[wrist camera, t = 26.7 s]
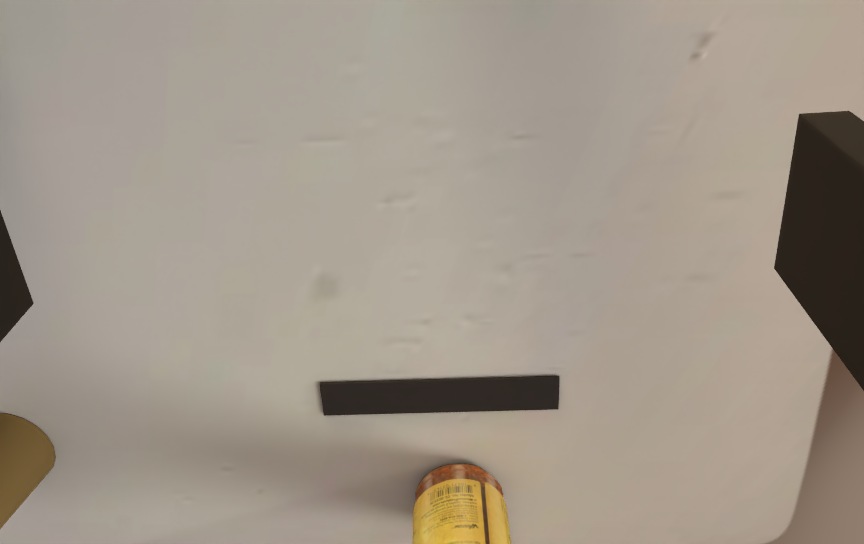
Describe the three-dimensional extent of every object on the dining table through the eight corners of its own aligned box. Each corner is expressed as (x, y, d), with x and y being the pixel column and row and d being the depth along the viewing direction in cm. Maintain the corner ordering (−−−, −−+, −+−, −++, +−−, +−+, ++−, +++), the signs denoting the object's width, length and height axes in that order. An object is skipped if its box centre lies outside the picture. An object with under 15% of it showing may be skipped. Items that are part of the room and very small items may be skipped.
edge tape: (324, 413, 52) (323, 415, 52) (319, 382, 51) (319, 384, 51) (558, 407, 51) (558, 409, 51) (558, 375, 50) (559, 377, 50)
